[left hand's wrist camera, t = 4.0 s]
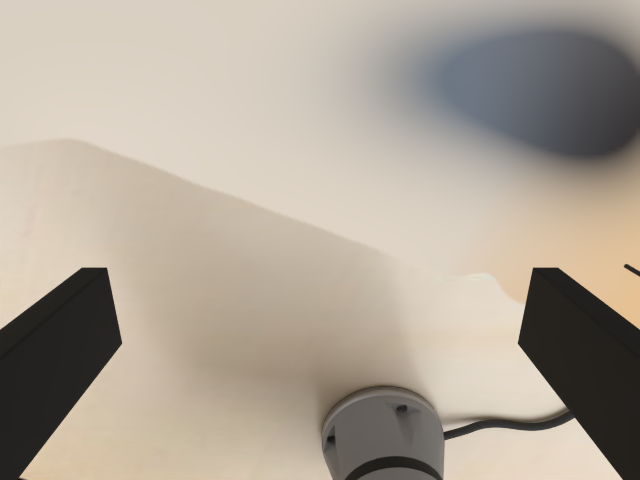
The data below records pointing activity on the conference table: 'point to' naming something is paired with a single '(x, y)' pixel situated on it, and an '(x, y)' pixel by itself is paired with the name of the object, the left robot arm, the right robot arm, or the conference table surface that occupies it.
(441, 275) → the conference table surface
